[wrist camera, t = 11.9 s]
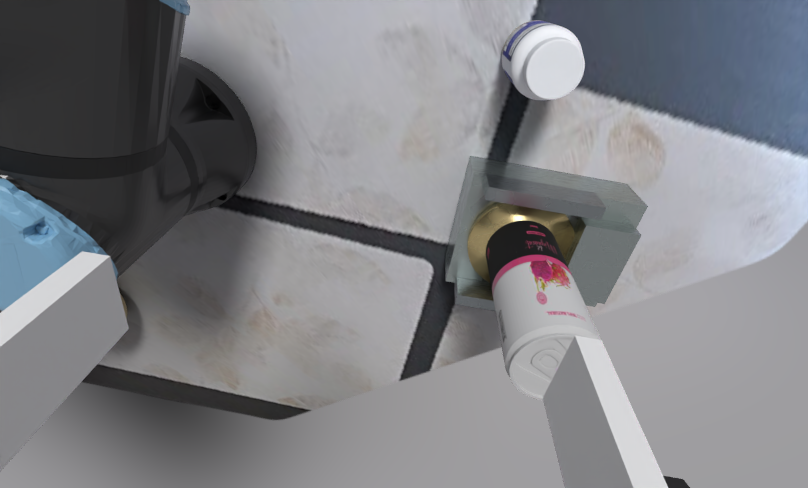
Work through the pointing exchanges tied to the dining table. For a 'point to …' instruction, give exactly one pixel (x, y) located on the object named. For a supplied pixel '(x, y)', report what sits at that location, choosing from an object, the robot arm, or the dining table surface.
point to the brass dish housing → (550, 206)
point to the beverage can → (534, 304)
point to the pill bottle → (543, 60)
